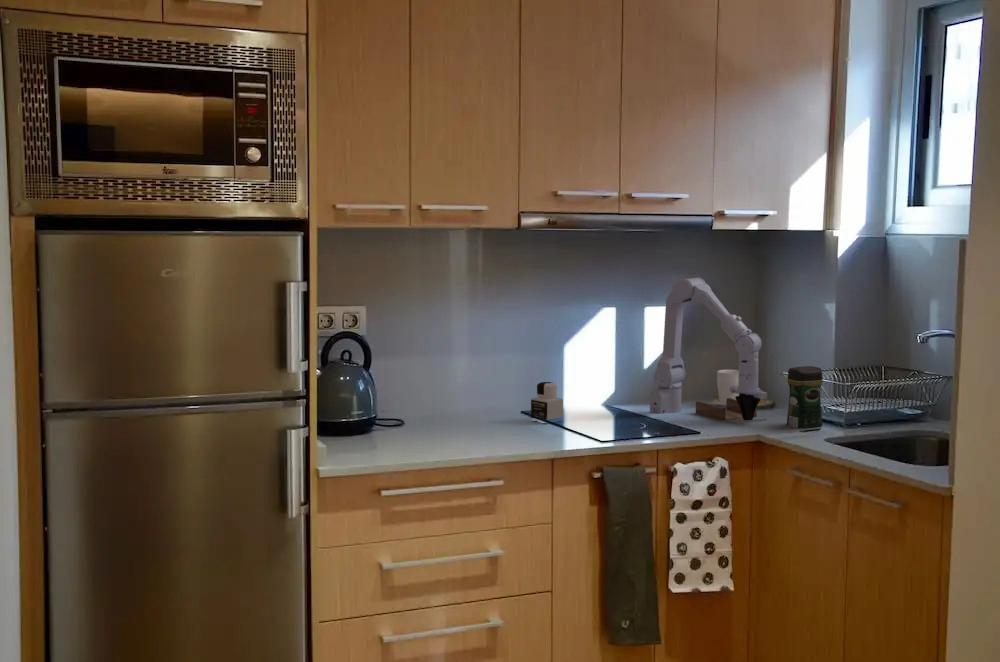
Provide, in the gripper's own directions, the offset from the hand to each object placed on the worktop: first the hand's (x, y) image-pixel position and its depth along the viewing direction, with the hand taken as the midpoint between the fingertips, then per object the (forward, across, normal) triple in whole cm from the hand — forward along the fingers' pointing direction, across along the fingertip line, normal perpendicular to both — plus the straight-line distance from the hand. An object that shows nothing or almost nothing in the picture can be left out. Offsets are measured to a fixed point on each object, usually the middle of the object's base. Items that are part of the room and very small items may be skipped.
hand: (747, 419), depth 292 cm
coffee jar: (+2, -13, -10) cm, 16 cm away
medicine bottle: (+1, +33, +50) cm, 60 cm away
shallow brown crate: (+2, +10, 0) cm, 10 cm away
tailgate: (0, +3, 0) cm, 3 cm away
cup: (+2, +24, -13) cm, 27 cm away
